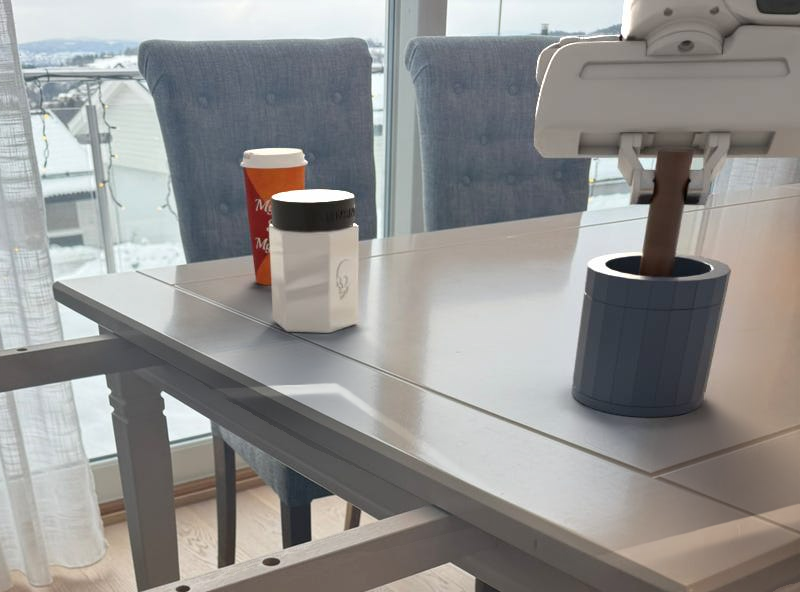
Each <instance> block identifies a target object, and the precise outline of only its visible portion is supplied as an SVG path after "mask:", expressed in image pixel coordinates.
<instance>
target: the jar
mask: <svg viewBox="0 0 800 592" xmlns="http://www.w3.org/2000/svg"><path fill="white" fill-rule="evenodd" d="M355 201H356V200H355V195H354V194H353V193H350V192H348V191H344V190H335V189H333V190H332V189H304V190H301V191H290V192H284V193H279V194H276V195H274V196H272V198H271V212H272V224H270V225H269V241H270V263H271V284H272V286H271V299H272V300H271V302H272V303H271V304H272V305H271V306H272V320H273V322H275V324H278V326H279V327H280V328H282V329H284V331H286V332H287V333H315V334H316V333H318V334H319V333H320V334H332V333H335V332H337V331H340V330H343V329H345V328H348V327H351V326H354V325H357V324H358V323H359V232H360V231H359V228H360V227H359V225H357V224H356V223H355V219H356V218H355V217H356V216H355V215H356V205H355Z"/></svg>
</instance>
